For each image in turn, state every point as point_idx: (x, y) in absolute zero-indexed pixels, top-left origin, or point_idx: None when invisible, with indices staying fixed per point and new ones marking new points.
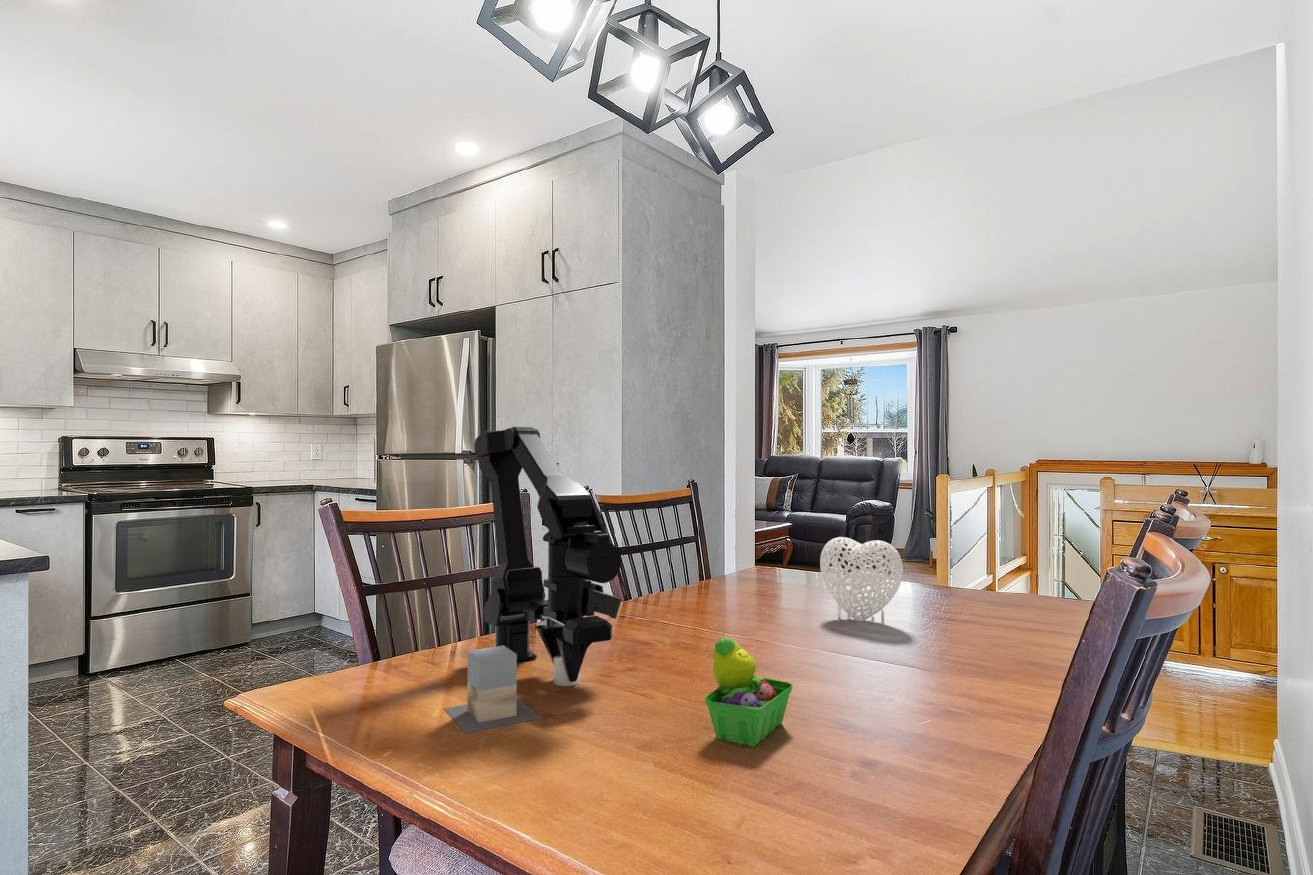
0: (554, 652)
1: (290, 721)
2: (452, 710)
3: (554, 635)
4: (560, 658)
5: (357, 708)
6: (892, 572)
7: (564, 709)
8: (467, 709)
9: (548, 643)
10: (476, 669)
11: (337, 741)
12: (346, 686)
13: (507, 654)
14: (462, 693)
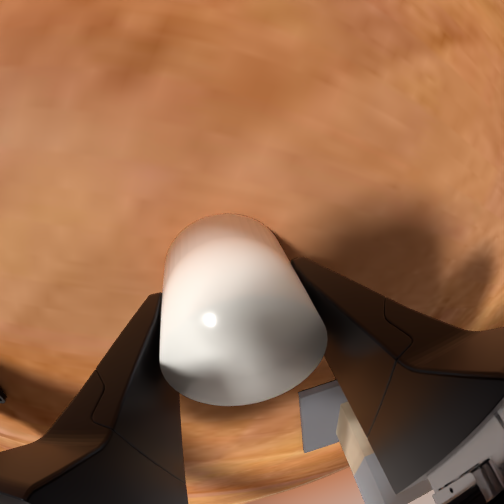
0: (174, 415)
1: (255, 499)
2: (320, 445)
3: (161, 501)
4: (247, 385)
5: (238, 490)
6: None
7: (429, 293)
8: (336, 434)
9: (180, 474)
10: None
11: (332, 472)
12: None
13: None
14: (215, 449)
